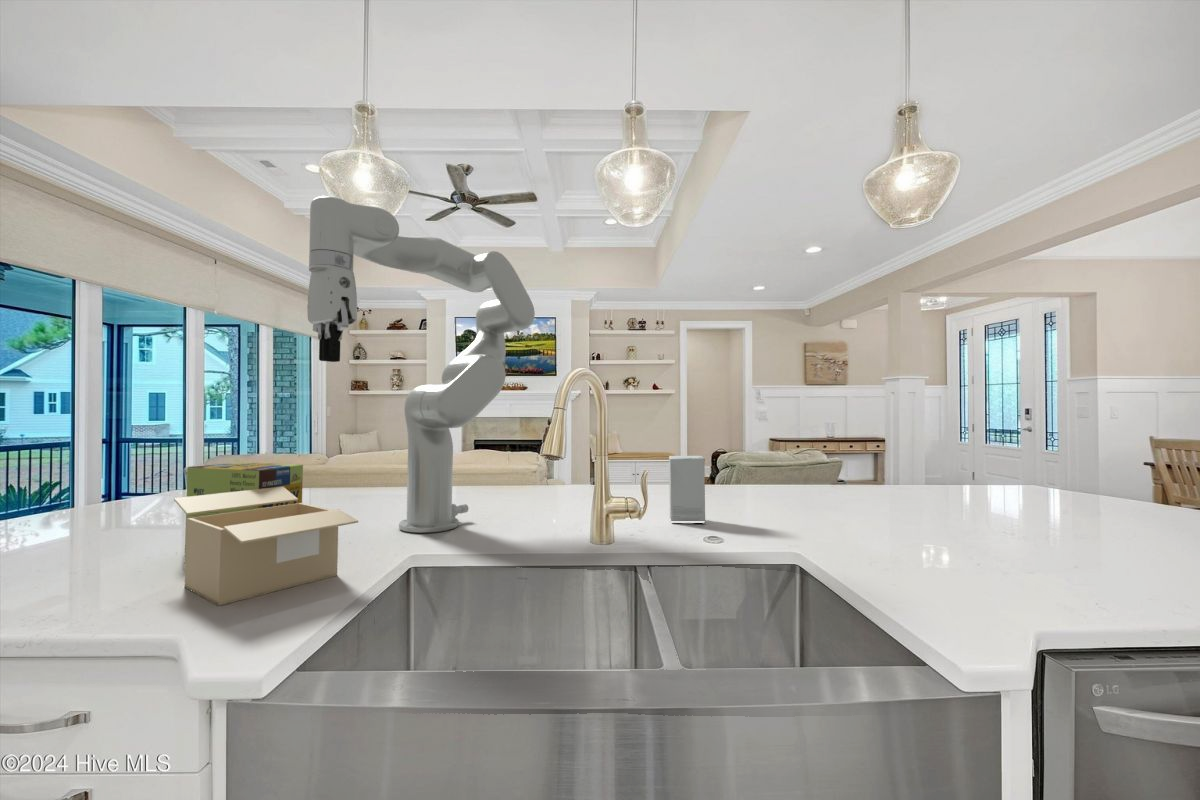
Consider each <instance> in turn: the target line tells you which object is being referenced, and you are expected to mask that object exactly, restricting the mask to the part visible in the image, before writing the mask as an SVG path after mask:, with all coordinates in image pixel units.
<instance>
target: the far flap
mask: <svg viewBox="0 0 1200 800" xmlns="http://www.w3.org/2000/svg"><path fill="white" fill-rule="evenodd" d="M173 501H174V502H175V503H176V504H177V506H179V508H180V509H181V510H182V511H183V512H184V513H185V515H186V514H187V515H191V514H199V513H207V512H214V511H222V510H229V509H237V508H245V507H252V506H260V505H268V504H275V503H283V502H291V501H298V498H296V497H295V496H294V495H293V494H292V493H290V492H289V491H288V490H287V489H286V488H284V487H274V488H264V489H255V490H246V491H236V492H227V493H218V494H208V495H199V496H190V497H187V496H183V497H174V498H173Z"/></svg>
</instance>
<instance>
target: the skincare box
mask: <svg viewBox="0 0 1200 800" xmlns="http://www.w3.org/2000/svg"><path fill="white" fill-rule="evenodd" d="M668 457H669V458H668V463H669V464H668V465H669V466H668V467H669V469H668V470H669V472H668V474H669V475H668V476H669V479H668V480H669V520H670V519H671V521H705V522H706V496H705V495H706V490H705V489H706V484H705V481H706V480H705V479H706V478H705V477H706V475H705V471H706V470H705V469H706V467H705V465H706V463H705V461H706V458H705V457H703V455H669V456H668ZM671 521H670V522H671Z"/></svg>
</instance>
